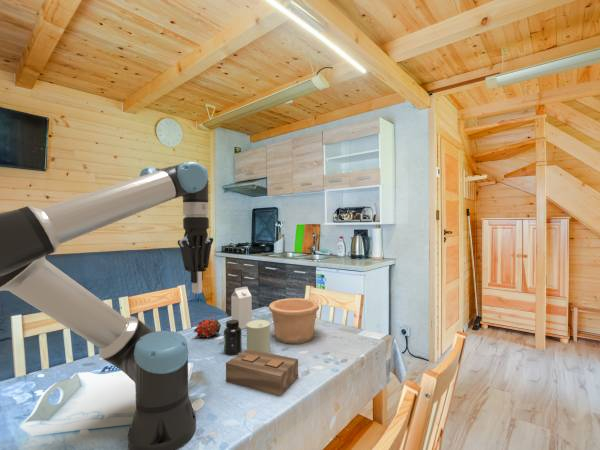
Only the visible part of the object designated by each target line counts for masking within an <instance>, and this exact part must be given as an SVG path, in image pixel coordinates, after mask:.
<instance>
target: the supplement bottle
mask: <svg viewBox="0 0 600 450" xmlns="http://www.w3.org/2000/svg"><path fill="white" fill-rule="evenodd" d="M225 324H226V325H225V326H226V327H225V329H224V330H223V352H224V354H225V355H228V356H235V355H236V356H237V355H239V354H240V353H242V349H243V348H242V347H243V345H242V343H243V342H242V339H243V338H242V336H243V335H242V334H243V333H242V329H241V328H240V327H238V326H239V321H238V320H232V319H229V320H228V319H227V320H226V322H225Z"/></svg>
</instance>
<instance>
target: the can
mask: <svg viewBox="0 0 600 450" xmlns="http://www.w3.org/2000/svg"><path fill="white" fill-rule="evenodd" d="M246 326H247V328H246V349H252V350H257V351H261V352H266V353H271V335H270V334H271V333H270V332H271V322H269V321H268V320H264V319H254V320H252V321H251V322H248V323H247V324H246Z"/></svg>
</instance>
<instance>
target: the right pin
mask: <svg viewBox="0 0 600 450" xmlns="http://www.w3.org/2000/svg"><path fill="white" fill-rule="evenodd" d="M282 364H283V361H278V360H274V359H272V360H271V361H269V362H268V363H267V364H266V366H268V367H273V368H278V367H279V366H281V365H282Z"/></svg>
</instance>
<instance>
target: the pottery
mask: <svg viewBox="0 0 600 450" xmlns="http://www.w3.org/2000/svg"><path fill="white" fill-rule="evenodd" d="M319 309H320V305H319V303H318V302H317V301H316V300H312V299H309V298H301V297H300V298H299V297H297V298H296V297H294V298H292V297H291V298H289V297H288V298H282V299H277V300H274V301H272V302H271V303H269V305H268V310H269V311H270V312H271V315H272V323H273V330H274V334H275V336H274V337H275V339H276V340H277V341H278V342H280V343H283V344H287V345H298V344H299V345H301V344H304V343H308V342H309V341H311V340H312V339H313V338H314V332H315V325H316V317H317V312H318V311H319Z"/></svg>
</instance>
